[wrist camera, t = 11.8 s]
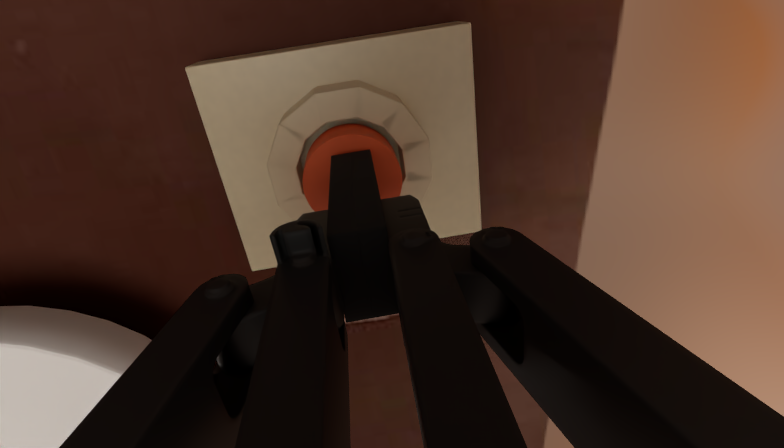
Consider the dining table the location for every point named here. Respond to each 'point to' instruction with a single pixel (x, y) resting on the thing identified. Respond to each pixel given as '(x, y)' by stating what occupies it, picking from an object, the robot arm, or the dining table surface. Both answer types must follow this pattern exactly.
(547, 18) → the dining table surface
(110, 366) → the bowl
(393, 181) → the button
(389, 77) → the button block
